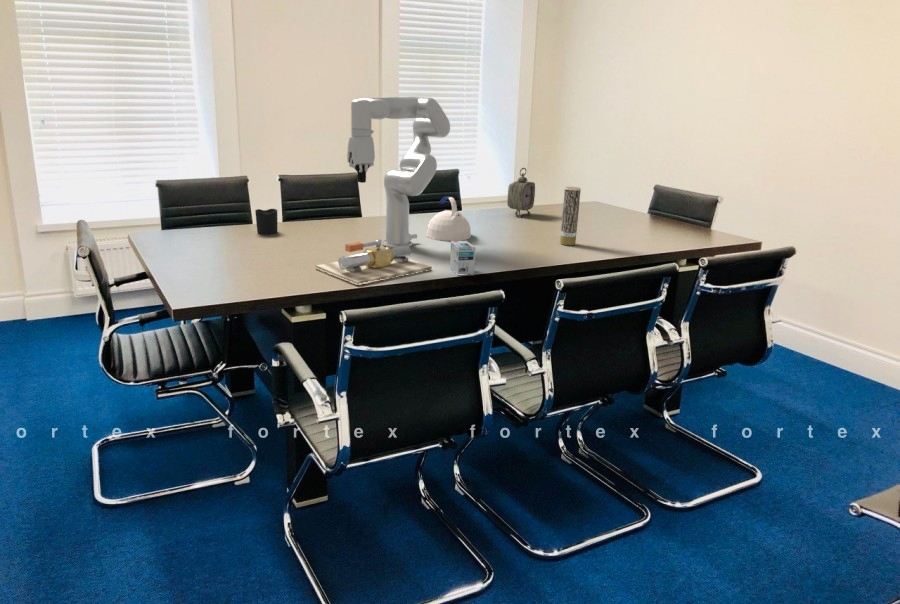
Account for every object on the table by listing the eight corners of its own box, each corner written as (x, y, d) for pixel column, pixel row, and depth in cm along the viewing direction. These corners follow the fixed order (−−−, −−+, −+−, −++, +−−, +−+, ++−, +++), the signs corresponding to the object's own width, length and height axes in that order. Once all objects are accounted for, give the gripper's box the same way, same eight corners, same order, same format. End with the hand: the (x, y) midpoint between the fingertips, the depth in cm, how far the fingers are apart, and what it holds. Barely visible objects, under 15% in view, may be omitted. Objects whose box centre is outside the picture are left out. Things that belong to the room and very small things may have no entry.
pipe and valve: (402, 258, 266) (402, 239, 264) (412, 262, 262) (412, 242, 260) (337, 271, 246) (336, 250, 244) (346, 275, 242) (346, 253, 240)
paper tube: (564, 241, 310) (569, 186, 302) (577, 244, 306) (583, 188, 298) (557, 244, 304) (562, 187, 296) (571, 246, 301) (576, 189, 293)
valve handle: (345, 250, 244) (345, 244, 243) (378, 244, 254) (378, 238, 253) (349, 252, 242) (349, 246, 241) (382, 245, 252) (382, 239, 252)
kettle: (437, 242, 300) (438, 201, 294) (419, 232, 317) (420, 193, 312) (478, 240, 308) (480, 199, 302) (459, 230, 325) (461, 192, 320)
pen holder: (270, 235, 301) (269, 213, 297) (252, 233, 303) (250, 211, 300) (282, 231, 309) (281, 209, 306) (264, 229, 312) (263, 207, 309)
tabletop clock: (520, 218, 356) (524, 169, 348) (505, 216, 360) (508, 168, 353) (533, 214, 367) (536, 167, 359) (518, 212, 372) (521, 165, 364)
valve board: (388, 255, 275) (388, 252, 275) (431, 270, 258) (431, 266, 257) (315, 269, 253) (315, 265, 253) (357, 286, 235) (357, 282, 235)
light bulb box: (474, 275, 253) (476, 246, 250) (457, 276, 252) (458, 247, 248) (466, 267, 263) (467, 240, 260) (449, 268, 261) (450, 240, 258)
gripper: (371, 132, 267) (371, 179, 273) (339, 133, 258) (340, 182, 263) (383, 133, 262) (383, 182, 268) (350, 135, 252) (351, 185, 258)
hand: (361, 182), depth 266 cm, fingers closed
